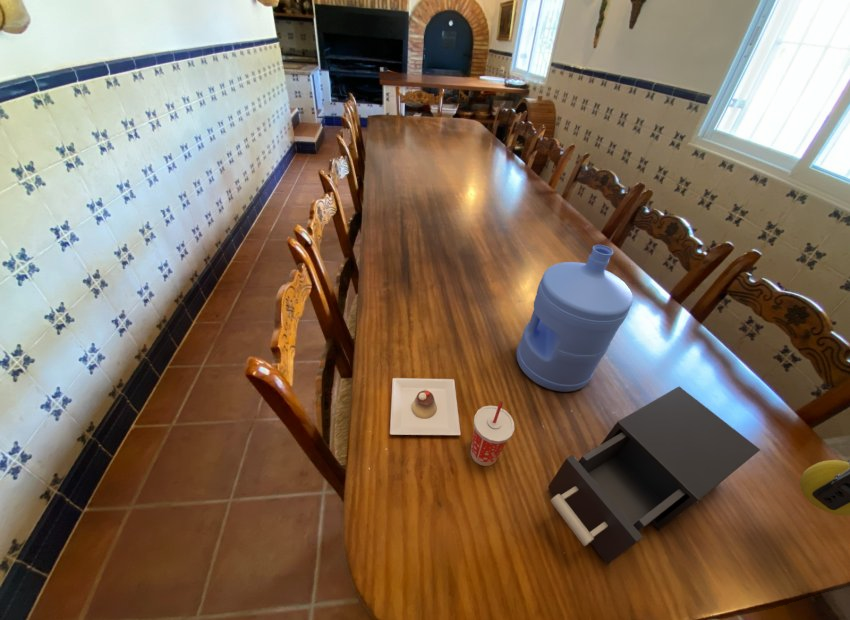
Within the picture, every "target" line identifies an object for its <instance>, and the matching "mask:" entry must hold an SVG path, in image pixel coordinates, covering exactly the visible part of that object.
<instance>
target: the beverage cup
mask: <svg viewBox="0 0 850 620" xmlns="http://www.w3.org/2000/svg"><path fill="white" fill-rule="evenodd" d="M503 404H504V402H503V401H499V402H498V405H497V406H496V405H485V406H482V407H480V408H478V409H477V412H476V413H475V415H474V418H473V433H472V438H471V444H470V456H471V458H472V459H473V461H474V462H475V463H477V464H478V465H480V466H484V467H489V466H492V465H494V464H495V463H496V462H497V460H498V458H499V457H500V454H501V453H502V451H503V449H504V447H505V445H507V444H506V443H507V442H508V441H509V440H510V439H511V438H512V436H513V434H514V431H515V422H514V420H513V417H512V415H511V414H510V413H509V412H508V411H507V410H505V409H504V408H502V407H503Z"/></svg>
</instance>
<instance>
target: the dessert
mask: <svg viewBox="0 0 850 620" xmlns="http://www.w3.org/2000/svg"><path fill="white" fill-rule="evenodd" d="M389 423H390V425H389V435H391V436H392V435H398V436H399V435H401V436H403V435H408V436H409V435H411V436H416V435H417V436H461V434H462V433H461V426H460V416H459V409H458V401H457V392H456V383H455V379H454V378H414V377H413V378H412V377H411V378H410V377H409V378H408V377H393V378H392V383H391V403H390V422H389Z"/></svg>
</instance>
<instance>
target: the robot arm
mask: <svg viewBox="0 0 850 620" xmlns="http://www.w3.org/2000/svg"><path fill="white" fill-rule="evenodd" d="M846 462H849V465H850V459H848V460H847V461H846ZM812 495H813V496H814V497H815V498H816V499H817V500H818V501H820V502H821V503H822V504H823V505H825V506H826V507H827V508H829V509H831V510H837V509H839V508H840V507H842V506H844V505H846V504H848V503H850V467H849V468H848V469H846V470H845V471H843V472H842V473H840V474H836V475H835V478H834V479H832V480H831V481H829V482H827V483H826V484H824V485H822V486H821V487H819V488H817V489H816V490H815V491H814V492H813V493H812Z"/></svg>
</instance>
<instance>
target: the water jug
mask: <svg viewBox="0 0 850 620" xmlns="http://www.w3.org/2000/svg"><path fill="white" fill-rule="evenodd" d="M613 254H614V250H613V249H612V248H611V247H609V246H606V245H603V244H595V245H593V246H592V251H591V253H590V254H589V255H588V258H587V262H586V263H585V262H577V261H564V262H559V263H555V264H552V265H550V266H549V267H548V268H547V269H545V271H544V272H543V274H542V277H541V279H540V281H539V284H538V286H537V289H536V294H535V298H534V301H533V311H532V314H531V317H530V320H529V322H528V323H527V324H526V325H525V327H524V330H523V333H522V336H521V339H520V340H519V343H518V345H517V348H516V360H517V363H518V366H519V368H520V369H521V371H522V372H523V373H524V374H525V376H527V377H528V378H529V379H530V380H531V381H532V382H533V383H535V384H537V385H539V386H541V387H543V388H545V389H547V390H550V391H555V392H563V393H567V392H569V393H570V392H574V391H578V390H581V389H582V388H584V387H585V386H587V385H588V384H589V383H590V382H591V379H592V378H593V376H594V373H595V371H596V369H597V367H598V365H599V363H600V362H601V360H602V359H603V357H604V356H605V355H606V353H607V351H608V349H609V348H610V345H611V343H612V341H613V339H614V337H615V335H616V334H617V332H618V330H619V329H620V327H621V325H622V324H623V323H624V322H625V320H626V319H627V317H628V315H629V312H630V309H631V307H632V306H633V302H634V298H633V293H632V291H631V288H629V286H628V285H627V284H626V282H624V281H623V280H622V279H621V278H619V277H618V276H617V275H616V274H614V273H612V272H610V271H608V270H607V269H606V268H607V266H608V265H609V263H610V258H611V257H612V256H613Z"/></svg>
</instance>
